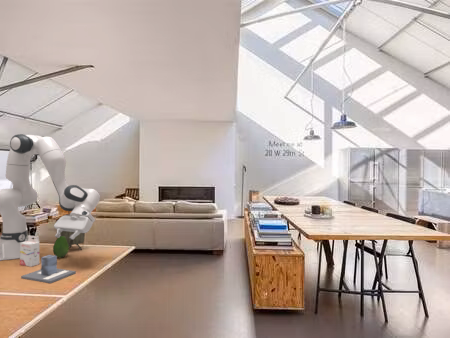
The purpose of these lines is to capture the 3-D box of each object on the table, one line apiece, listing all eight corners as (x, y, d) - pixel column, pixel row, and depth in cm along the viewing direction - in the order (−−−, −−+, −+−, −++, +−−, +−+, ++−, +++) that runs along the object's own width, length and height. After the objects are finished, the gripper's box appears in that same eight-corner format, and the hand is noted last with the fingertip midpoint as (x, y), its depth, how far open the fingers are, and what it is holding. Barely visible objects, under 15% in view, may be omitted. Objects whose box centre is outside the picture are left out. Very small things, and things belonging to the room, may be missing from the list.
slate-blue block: (41, 274, 145) (41, 257, 145) (49, 271, 149) (49, 254, 149) (48, 275, 143) (48, 258, 143) (56, 272, 147) (56, 255, 147)
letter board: (21, 278, 142) (21, 276, 142) (47, 269, 156) (47, 266, 156) (50, 283, 136) (50, 281, 136) (75, 273, 150) (75, 271, 150)
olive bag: (84, 249, 193) (84, 209, 193) (70, 252, 185) (71, 211, 185) (71, 246, 201) (71, 207, 201) (57, 249, 193) (57, 209, 193)
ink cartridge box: (19, 265, 162) (19, 236, 162) (28, 262, 166) (28, 235, 166) (31, 266, 159) (31, 238, 159) (39, 264, 163) (40, 236, 163)
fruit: (69, 254, 181) (69, 234, 181) (67, 258, 174) (67, 237, 174) (54, 256, 179) (54, 235, 179) (51, 259, 171) (51, 238, 171)
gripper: (61, 210, 165) (44, 232, 155) (91, 213, 158) (76, 236, 149) (67, 217, 169) (52, 239, 160) (97, 220, 162) (83, 243, 153)
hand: (64, 237), depth 154 cm, fingers open, 8 cm apart
